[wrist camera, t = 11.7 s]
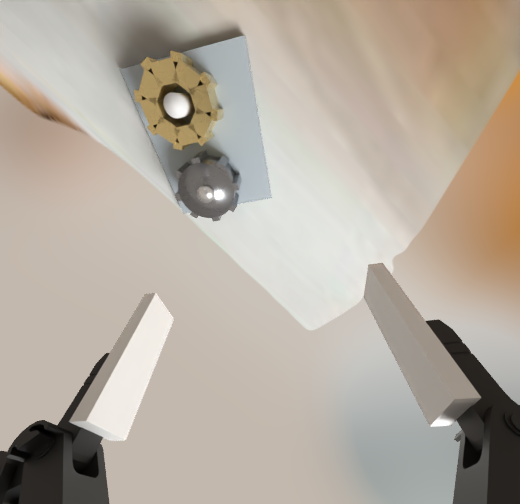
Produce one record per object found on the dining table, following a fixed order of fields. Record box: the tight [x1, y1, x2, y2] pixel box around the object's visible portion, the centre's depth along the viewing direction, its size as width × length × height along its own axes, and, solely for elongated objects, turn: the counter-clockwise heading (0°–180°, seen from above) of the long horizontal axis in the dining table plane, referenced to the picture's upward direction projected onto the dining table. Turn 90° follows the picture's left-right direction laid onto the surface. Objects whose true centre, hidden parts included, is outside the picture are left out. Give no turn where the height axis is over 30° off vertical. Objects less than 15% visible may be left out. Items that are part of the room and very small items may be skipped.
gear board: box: [120, 35, 272, 213], centre depth 29 cm, size 20×16×7 cm
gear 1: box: [134, 50, 224, 150], centre depth 26 cm, size 9×9×5 cm
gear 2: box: [174, 151, 241, 221], centre depth 32 cm, size 9×9×6 cm
